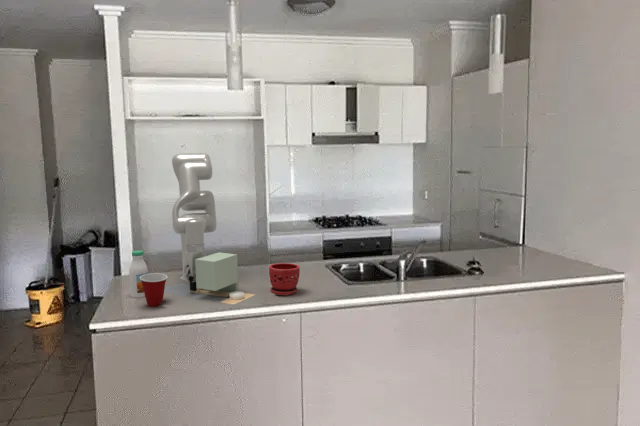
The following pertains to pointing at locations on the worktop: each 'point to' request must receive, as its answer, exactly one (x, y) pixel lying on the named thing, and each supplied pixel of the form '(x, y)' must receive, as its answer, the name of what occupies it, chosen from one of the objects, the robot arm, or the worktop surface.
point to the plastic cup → (153, 288)
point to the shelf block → (217, 272)
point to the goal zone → (237, 300)
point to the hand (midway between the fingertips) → (197, 288)
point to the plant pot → (284, 278)
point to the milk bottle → (137, 274)
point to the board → (185, 291)
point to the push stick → (210, 292)
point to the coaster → (236, 295)
